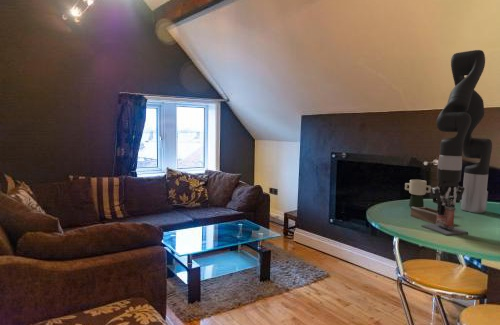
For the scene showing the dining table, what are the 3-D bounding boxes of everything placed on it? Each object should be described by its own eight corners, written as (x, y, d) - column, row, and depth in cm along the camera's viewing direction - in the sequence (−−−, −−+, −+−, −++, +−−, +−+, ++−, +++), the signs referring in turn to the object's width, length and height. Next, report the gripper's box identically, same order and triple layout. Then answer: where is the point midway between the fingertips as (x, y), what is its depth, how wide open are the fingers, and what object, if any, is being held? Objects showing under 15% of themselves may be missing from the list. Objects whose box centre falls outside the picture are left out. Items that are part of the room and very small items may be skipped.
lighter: (433, 222, 131) (435, 196, 130) (441, 222, 131) (444, 196, 130) (447, 229, 123) (449, 201, 122) (456, 229, 123) (458, 201, 122)
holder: (425, 214, 149) (426, 205, 149) (451, 223, 137) (452, 213, 136) (410, 215, 146) (411, 206, 146) (435, 224, 134) (436, 214, 134)
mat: (442, 224, 134) (442, 223, 134) (467, 233, 124) (468, 231, 124) (421, 226, 131) (421, 225, 131) (446, 235, 120) (446, 233, 120)
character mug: (430, 208, 162) (432, 180, 160) (428, 211, 156) (430, 182, 154) (404, 204, 168) (406, 178, 166) (402, 207, 162) (404, 180, 160)
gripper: (455, 166, 131) (451, 211, 132) (425, 167, 126) (421, 213, 128) (473, 169, 124) (469, 216, 125) (443, 169, 119) (438, 218, 121)
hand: (445, 214), depth 127 cm, fingers closed on lighter, 4 cm apart
